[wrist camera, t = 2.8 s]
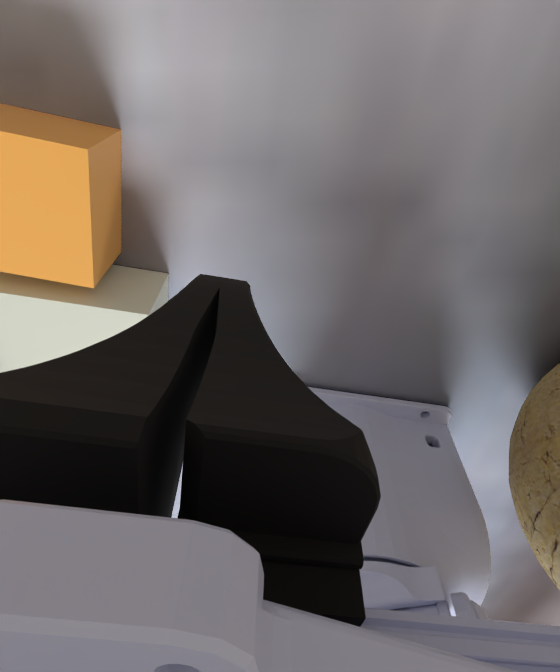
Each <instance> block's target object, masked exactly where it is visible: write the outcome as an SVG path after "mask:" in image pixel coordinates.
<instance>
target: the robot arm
mask: <svg viewBox="0 0 560 672" xmlns="http://www.w3.org/2000/svg"><path fill="white" fill-rule="evenodd" d="M424 411H427V412H425V413H422V412H424ZM451 417H452V414H451V411H450V409H449V408H448V407H446V406H440V405H433V404H425V403H418V402H411V401H404V400H397V399H390V398H383V397H376V396H369V395H361V394H354V393H347V392H340V391H333V390H326V389H319V388H312V387H307V386H306V385H305V384H304V383H303V382H302V381H301V380H300V379H299V377H298V376H297V375H296V374H295V373H294V372H293V371H292V370H291V368H290V367H289V366H288V365H287V363H286V362H285V361H284V359H283V358H282V357H281V355H280V354H279V352H278V351H277V349H276V348H275V346H274V344H273V343H272V341H271V339H270V337H269V336H268V334H267V332H266V330H265V328H264V326H263V324H262V322H261V320H260V317H259V315H258V313H257V310H256V308H255V305H254V302H253V299H252V295H251V291H250V285H249V284H248V283H247V281H241V280H235V279H229V278H222V277H216V276H210V275H203V274H200V275H199V276H197V277H196V278H195V279H194V280H192V281H191V282H190V283H189V284H188V285H187V286H186V287H185V288H184V289H182V290H181V291H180V292H179V293H178V294H177V295H175V296H174V297H173V298H172V299H170V300H169V301H168V302H167V303H165V304H164V305H163V306H161V307H160V308H159V309H157V310H156V311H154V312H153V313H152V314H150V315H149V316H147V317H146V318H144V319H143V320H141V321H140V322H138V323H137V324H135V325H133V326H131V327H130V328H128V329H126V330H124V331H122V332H120V333H118V334H116V335H114V336H112V337H110V338H108V339H105V340H103V341H101V342H98V343H96V344H93V345H91V346H89V347H86V348H84V349H81V350H79V351H76V352H73V353H71V354H68V355H65V356H62V357H59V358H56V359H52V360H49V361H45V362H42V363H39V364H35V365H31V366H28V367H24V368H19V369H15V370H10V371H6V372H2V373H0V672H560V626H550V625H540V624H530V623H519V622H509V621H498V620H489V618H488V616H487V614H486V612H485V610H484V609H483V608H482V607H481V606H480V605H481V603H482V601H483V600H484V597H485V595H486V592H487V589H488V585H489V580H490V572H491V556H490V544H489V538H488V532H487V528H486V524H485V520H484V517H483V514H482V512H481V509H480V507H479V504H478V502H477V499H476V497H475V494H474V492H473V489H472V487H471V484H470V482H469V479H468V477H467V474H466V472H465V469H464V467H463V464H462V462H461V459H460V457H459V455H458V452H457V450H456V447H455V445H454V442H453V440H452V437H451V435H450V432H449V430H448V427H447V425H448V423H449V421H450V419H451ZM182 464H183V472H182V487H181V501H180V510H179V514H178V519H177V518H171V516H172V511H173V506H174V501H175V497H176V492H177V487H178V482H179V478H180V473H181V468H182Z"/></svg>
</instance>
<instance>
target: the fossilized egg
mask: <svg viewBox="0 0 560 672" xmlns="http://www.w3.org/2000/svg"><path fill="white" fill-rule="evenodd" d="M509 484H510V489H511V494H512V498H513V502H514V506H515V509H516V513H517V516H518V519H519V522H520V525H521V527H522V529H523V531H524V534H525V536H526V538H527V540H528V542H529V544H530V546H531V548H532V550H533V552H534V554H535V556H536V558H537V559H538V561H539V563H540V564H541V566H542V567H543V568H544V570H545V571H546V573H547V574H548V575H549V577H550V578H551V580H552V581H553V582H554V583H555V585H556V586H557V587H558V589H559V590H560V363H559V364H558V365H557V366H555V367H554V368H553V369H552V370H551V371H549V372H548V373H547V374H546V375H545V376H544V377H543V378H542V379H541V380H540V381H539V382H538V383H537V384H536V386H535V387H534V388H533V389H532V390H531V391H530V393H529V395H528V396H527V398H526V400H525V402H524V403H523V405H522V407H521V410H520V412H519V414H518V417H517V420H516V422H515V425H514V428H513V432H512V435H511V438H510V448H509Z"/></svg>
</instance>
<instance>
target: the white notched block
mask: <svg viewBox="0 0 560 672" xmlns="http://www.w3.org/2000/svg"><path fill="white" fill-rule="evenodd" d="M168 283H169V273H162V272H156V271H150V270H143V269H137V268H131V267H125V266H118V265H111V266H110V268H109V269H108V270H107V272H106V273H105V274H104V276H103V277H102V278H101V280H100V281H99V282H98V284H97V285H96V286H95V288H89V287H83V286H78V285H72V284H67V283H61V282H55V281H50V280H44V279H39V278H33V277H28V276H22V275H17V274H11V273H5V272H0V373H2V372H6V371H10V370H15V369H19V368H24V367H28V366H31V365H35V364H39V363H42V362H45V361H49V360H52V359H56V358H59V357H62V356H65V355H68V354H71V353H73V352H76V351H79V350H81V349H84V348H86V347H89V346H91V345H93V344H96V343H98V342H101V341H103V340H105V339H108V338H110V337H112V336H114V335H116V334H118V333H120V332H122V331H124V330H126V329H128V328H130V327H131V326H133V325H135V324H137V323H138V322H140V321H141V320H143V319H144V318H146V317H147V316H149V315H150V314H152V313H153V312H154V311H156V310H157V309H159V308H160V307H161V306H163V305H164V304H165V303H167V302H168Z"/></svg>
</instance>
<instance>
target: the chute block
mask: <svg viewBox="0 0 560 672" xmlns="http://www.w3.org/2000/svg"><path fill="white" fill-rule="evenodd" d="M120 253H121V130H120V129H116V128H111V127H107V126H102V125H98V124H93V123H88V122H84V121H79V120H75V119H70V118H66V117H61V116H56V115H52V114H47V113H43V112H38V111H34V110H29V109H24V108H20V107H15V106H11V105H6V104H1V103H0V272H5V273H11V274H17V275H22V276H28V277H33V278H39V279H44V280H50V281H55V282H61V283H67V284H72V285H78V286H83V287H89V288H95V286H96V285H97V284H98V282H99V281H100V280H101V278H102V277H103V276H104V274H105V273H106V272H107V270H108V269H109V268H110V266H111V265H112V264H113V262H114V261H115V260H116V258H117V257H118V256H119V254H120Z"/></svg>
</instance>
